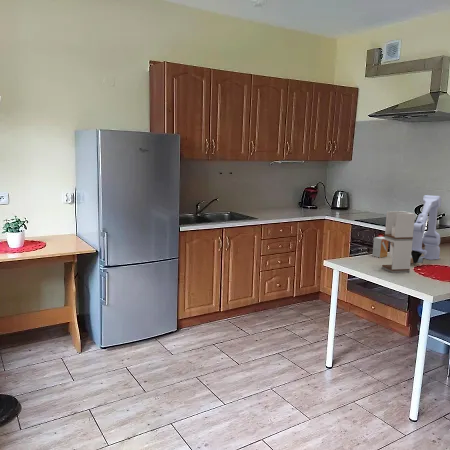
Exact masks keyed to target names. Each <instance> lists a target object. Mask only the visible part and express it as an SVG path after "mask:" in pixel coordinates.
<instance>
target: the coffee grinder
mask: <svg viewBox="0 0 450 450" xmlns="http://www.w3.org/2000/svg"><path fill="white" fill-rule="evenodd" d="M415 217H416V213H414V212H410V211H404V210H400V211H399V210H391V211H390V210H386V219H385V229H384V237H385V239H384V240H387V241H389V243H390V245H389V246H390V247H389V257H390V258H391V259H392V260H391V264H382V266H381V268H382V270H385V271H387V272H389V273H392V274H397V273H398V274H399V273H400V274H401V273H402V274H403V273H410V271H411V270H410V267H411V263H410V261H411V251H412V240H413V230H414V223H415Z"/></svg>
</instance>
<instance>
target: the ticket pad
mask: <svg viewBox="0 0 450 450" xmlns="http://www.w3.org/2000/svg"><path fill="white" fill-rule="evenodd" d="M411 258H412V255H411ZM423 260H424V258H422V257H421V256H420V257H419V260H418V262H417V263H416V264H420V263H423Z"/></svg>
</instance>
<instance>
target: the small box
mask: <svg viewBox="0 0 450 450" xmlns="http://www.w3.org/2000/svg"><path fill="white" fill-rule="evenodd" d="M384 239H385V236H376V237H373V243H372V244H373V245H372V255H373V256H372V255H371V256H372V257H374V256H376V257H375V258H378V257H379V258H380V259H381V258H387V257H388V254H389V253H388V252H389V250H388V249H389V243H390V241H387V240H384ZM379 258H378V259H379Z"/></svg>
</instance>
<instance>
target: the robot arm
mask: <svg viewBox="0 0 450 450" xmlns="http://www.w3.org/2000/svg"><path fill="white" fill-rule="evenodd" d="M422 204H423V207H422V210H421V213H419V214H418V216H417V218H416V221H415V222H414V230H413V240H412V251H411V255H412V258H413V263H412V264H418V263H417V262H418V260H419V257H422V258H423V259H426V260H429V261H430V260H431V261H433V260H440V259H441V258H440V255H441V253H440V252H441V248H440V244H441V234H440V233H439V232H438V231H437V219H438V209H439V208H441V207H442V197H441V195H431V194H430V195H429V194H425V195H423V198H422ZM427 221H428V225H427ZM426 226H427V231H426ZM423 245H424V248H422V247H423ZM422 255H423V256H422Z"/></svg>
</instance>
